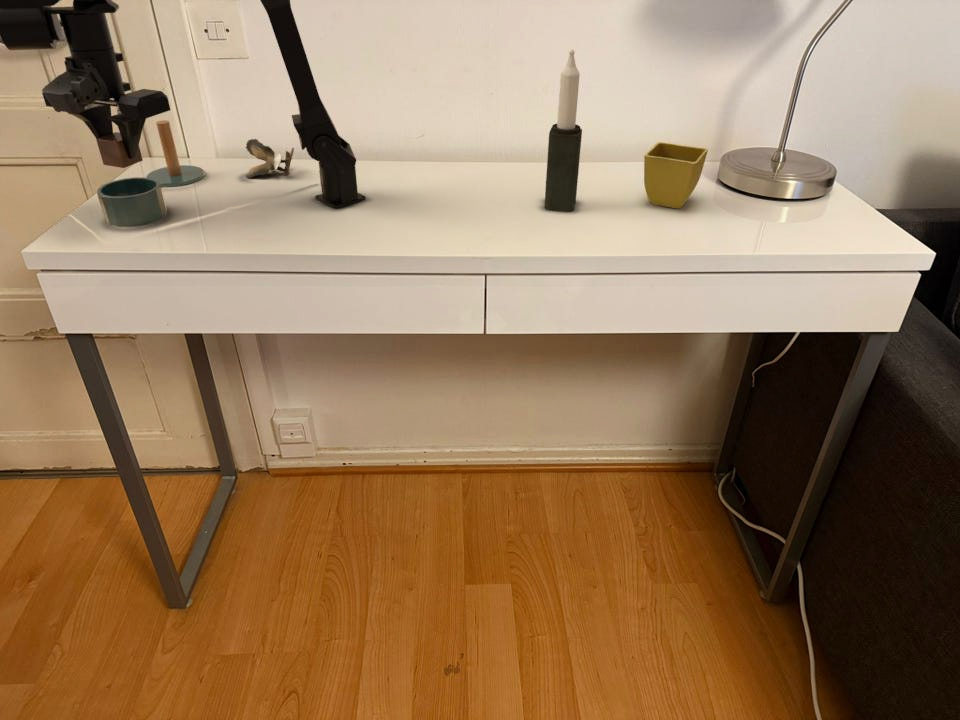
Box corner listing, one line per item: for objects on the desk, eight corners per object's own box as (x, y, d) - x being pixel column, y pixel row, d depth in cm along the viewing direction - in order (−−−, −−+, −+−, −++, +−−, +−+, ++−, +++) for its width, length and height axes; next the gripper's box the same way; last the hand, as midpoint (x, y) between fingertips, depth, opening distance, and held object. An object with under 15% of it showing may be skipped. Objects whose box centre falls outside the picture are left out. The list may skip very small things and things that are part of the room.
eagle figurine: (295, 161, 134) (248, 153, 133) (293, 137, 128) (243, 127, 126) (287, 194, 131) (239, 185, 130) (284, 170, 124) (233, 161, 123)
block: (142, 160, 109) (136, 134, 107) (123, 168, 106) (116, 142, 104) (122, 157, 110) (115, 131, 108) (103, 164, 107) (95, 138, 105)
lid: (215, 180, 128) (202, 122, 122) (161, 194, 122) (146, 133, 116) (190, 167, 134) (177, 111, 128) (138, 179, 128) (122, 121, 122)
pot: (177, 219, 113) (169, 187, 110) (120, 234, 108) (110, 202, 105) (153, 203, 119) (145, 173, 116) (98, 218, 113) (88, 186, 110)
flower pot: (636, 206, 120) (643, 154, 115) (650, 190, 126) (658, 140, 121) (687, 215, 117) (696, 162, 111) (699, 199, 123) (709, 148, 118)
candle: (573, 212, 117) (587, 53, 103) (543, 209, 118) (553, 51, 104) (576, 201, 121) (590, 47, 107) (547, 199, 122) (557, 45, 108)
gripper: (-8, 52, 95) (32, 164, 104) (98, 64, 90) (130, 181, 99) (59, 39, 104) (90, 143, 113) (159, 49, 99) (184, 158, 107)
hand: (121, 156), depth 108 cm, fingers closed on block, 4 cm apart
